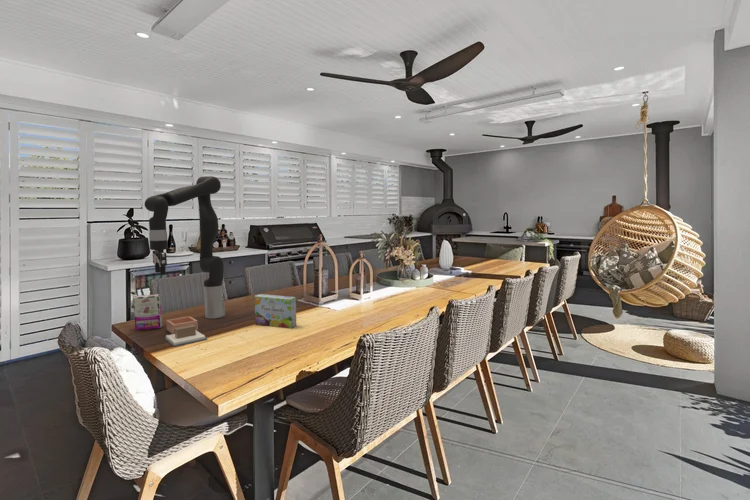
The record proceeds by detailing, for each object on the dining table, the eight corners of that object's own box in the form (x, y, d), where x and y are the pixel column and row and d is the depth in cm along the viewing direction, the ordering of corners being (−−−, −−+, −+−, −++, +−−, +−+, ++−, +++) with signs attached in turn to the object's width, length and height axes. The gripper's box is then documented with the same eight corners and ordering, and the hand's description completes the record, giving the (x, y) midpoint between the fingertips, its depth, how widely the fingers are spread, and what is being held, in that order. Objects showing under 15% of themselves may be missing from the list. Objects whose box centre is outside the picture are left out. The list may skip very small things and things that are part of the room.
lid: (195, 331, 195) (195, 321, 194) (205, 338, 185) (205, 327, 184) (165, 337, 186) (165, 327, 185) (174, 344, 176) (173, 333, 176)
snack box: (254, 325, 208) (253, 295, 207) (261, 322, 213) (260, 293, 212) (291, 329, 201) (290, 298, 200) (297, 325, 207) (296, 296, 205)
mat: (196, 332, 195) (196, 331, 195) (207, 339, 185) (207, 338, 185) (164, 339, 186) (164, 337, 186) (174, 346, 176) (173, 345, 176)
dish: (190, 325, 206) (190, 316, 206) (198, 330, 198) (197, 320, 198) (166, 330, 199) (166, 320, 199) (173, 335, 191) (173, 325, 190)
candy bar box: (162, 326, 206) (161, 293, 205) (160, 328, 202) (158, 296, 200) (137, 327, 203) (135, 295, 202) (135, 330, 199) (132, 297, 197)
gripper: (171, 239, 190) (173, 274, 192) (162, 238, 201) (164, 270, 203) (153, 240, 185) (155, 276, 187) (145, 238, 196) (147, 272, 198)
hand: (160, 273), depth 195 cm, fingers open, 8 cm apart
